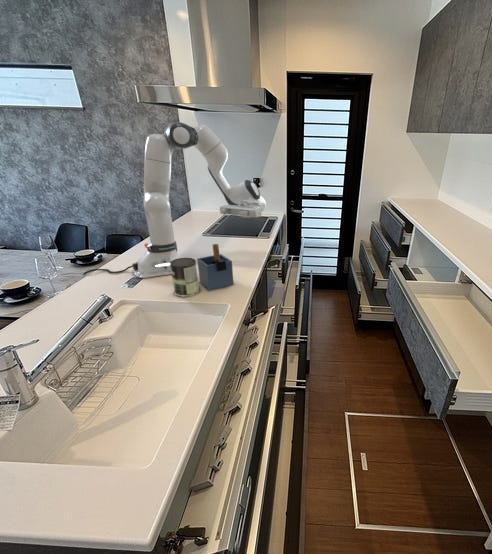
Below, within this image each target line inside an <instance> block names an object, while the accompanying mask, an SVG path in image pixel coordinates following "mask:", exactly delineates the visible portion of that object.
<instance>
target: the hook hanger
mask: <svg viewBox="0 0 492 554" xmlns="http://www.w3.org/2000/svg"><path fill="white" fill-rule="evenodd" d="M212 252H213V255H214V260H212V263H213V264H216V266H217V271H222V270H226V261H224V260H222V259H220V255H219V254H220V248H219V244H218V243H213V244H212Z"/></svg>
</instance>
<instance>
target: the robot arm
mask: <svg viewBox="0 0 492 554" xmlns="http://www.w3.org/2000/svg"><path fill="white" fill-rule="evenodd" d="M191 147H195V148H196V149H197V150H198V151H199V152H200V153H201V154H202V156H203V157H204V159H205V160H206V162H207V170H208V173H209V175H210V176H211V178H212V180H213V181H214V183H215V184H216V186H217V187H218V188H219V190H220V192H221V194H222V195H223V197H224V200H225V201H226V203H227V204H225V205H220V206H219V213H220V215H230V216H238V217H241V218H243V219H248V218H261V217H262V212H263V211H265V209H266V206H267V202H266V199H264V197H262V196H261V193H260V189H259V187H258V186H257V184H256V183H255V182H254V181H252V180H249V179H245V180H243V181H242V182H240V183H238V184H237V185H235V186H234V187H232V186H230V184H229V182H228V181H227V179H226V177H225V176H224V174H223V169H224V167H225V165H226V163H227V161H228V158H229V153H228V149H227V147H226V145H225V144H224V142H222V140H221V139H220V138H219V136H218V135H217V134H216V133H215V132H214V131H213V130H212V129H211V128H210V127H209V126H207V125H206V124H201V123H200V124H197V125H195V126H194V127H193V126H190V125H189V124H186V123H184V122H180V121H173V122H172V123H170V124H169V125H168V126H167V127H166V128H165V130H164V132H163V133H152V134H149V135H147V138H146V141H145V148H144V158H143V159H144V160H143V161H144V165H143V168H144V169H143V203H142V204H143V210H144V215H145V220H146V225H147V230H148V235H149V240H150V243H147V242H146V243H144V248H145V249H147V251H146V252H145V253H144V254H143V255H142V256H140V258H139V259H138V261H137V262H134V263H132V265H129V266H127V267H126V268H125V269H121V270H117V271H113V270H112V271H111V270H110V269H108V268H93V269H89V270H87V271H85V272H84V273H82V276H86V275H87V274H88V273H90V272H97V271H106V272H108V273H110V274H119V273H123V272H125V271H127V270H129V269H131V268H132V269H133V275H134V276H135V277H136V278H139V279H147V278H154V277H155V278H156V277H162V276H168V275H172V272H171V266H170V262H171V261H172V260H175V259H178V258H180V257H179V255H178V245H177V241H176V240H175V231H174V227H173V218H172V217H173V216H172V210H171V203H170V188H171V180H172V179H171V176H172V158H173V157H172V156H173V153H174V150H176V149H178V150H184V149H188V148H191Z"/></svg>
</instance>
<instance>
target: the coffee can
mask: <svg viewBox="0 0 492 554" xmlns="http://www.w3.org/2000/svg"><path fill="white" fill-rule="evenodd" d="M170 266H171V272H172V274H171V277H172V283H173V284H172V285H173V290H174V295H175V296H177V297H182V298H185V297H192V296H195V295H196V294H197V295H198V293H199V292H200V286H199V279H198V278H199V276H198V270H197V269H198V268H197V259H195V258H192V257H179V258H178V259H175V260H172V261H171V262H170Z"/></svg>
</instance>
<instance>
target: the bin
mask: <svg viewBox="0 0 492 554" xmlns="http://www.w3.org/2000/svg"><path fill="white" fill-rule="evenodd" d="M219 255H220V259H222V260H224V261H226V270H222V271H217V266H216V264H213V263H212V260H214V254H213V255H209V256H203V257H198V258H196V263H197V269H198V270H197V271H198V278H199V283H200V284H201V285H203V286H204V288H206V289H207V290H208V291H215V290H218V289H222V288H226V287H230V286H233V285H234V273H233V261H232V259H230V258H228V257H227V256H225V255H223V254H222V253H219Z"/></svg>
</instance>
